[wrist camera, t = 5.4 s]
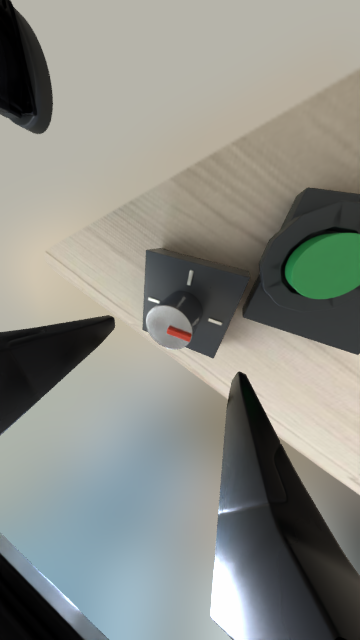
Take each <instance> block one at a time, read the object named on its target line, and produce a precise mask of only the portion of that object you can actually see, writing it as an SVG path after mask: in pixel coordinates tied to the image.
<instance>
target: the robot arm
mask: <svg viewBox="0 0 360 640" xmlns="http://www.w3.org/2000/svg"><path fill="white" fill-rule="evenodd" d="M0 115H2V116H4V117H6V118H16V119H21V118H22V116H37V108H36V103H35V99H34V95H33V90H32V86H31V81H30V77H29V72H28V68H27V64H26V59H25V55H24V50H23V46H22V41H21V37H20V33H19V28H18V24H17V19H16V15H15V11H14V7H13V4H12V2H11V0H0ZM114 328H115V320H114V318H113V317H112V316H109V315H107V316H102V317H95V318H90V319H84V320H78V321H72V322H66V323H60V324H54V325H48V326H42V327H37V328H30V329H23V330H15V331H7V332H0V435H1V434H3V433H4V432H5V431H6V430H7V429H8V428H9V427H10V426H11V425H12V424H13V423H15V422H16V421H17V420H18V419H19V418H20V417H21V416H22V415H23V414H25V413H26V411H28V410H29V409H30V408H31V407H32V406H33V405H34V404H35V403H37V401H39V400H40V399H41V398H42V397H43V396H44V395H45V394H46V393H47V392H49V390H51V389H52V388H53V387H54V386H55V385H56V384H57V383H58V382H60V381H61V379H63V378H64V377H65V376H66V375H67V374H68V373H69V372H71V370H72V369H74V368H75V367H76V366H77V365H78V364H79V363H80V362H81V361H82V360H83V359H85V358H86V357H87V356H88V355H89V354H90V353H91V352H92V351H94V350H95V349H96V348H97V347H98V346H99V345H100V344H101V343H102V342H103V341H104V340H105V339H106V337H107V336H108V335H109V334H110V333H111V332H112V331H113V330H114ZM211 619H212V620H213V621H214V622H216V624H217V625H219V627H220V628H221V629H222V630H223V631H224V632H225V633H226V634H227V635H228V636H229V637H230V638H231V639H232V640H360V575H359V574H358V573H357V571H356V570H355V569H354V567H353V566H352V564H351V563H350V561H349V560H348V558H347V557H346V555H345V554H344V552H343V551H342V549H341V548H340V546H339V544H338V543H337V541H336V539H335V538H334V536H333V534H332V532H331V531H330V529H329V527H328V526H327V524H326V522H325V521H324V519H323V517H322V515H321V514H320V512H319V511H318V509H317V507H316V505H315V504H314V502H313V500H312V498H311V497H310V495H309V494H308V492H307V490H306V488H305V487H304V485H303V483H302V481H301V479H300V478H299V476H298V474H297V473H296V471H295V469H294V467H293V465H292V463H291V461H290V459H289V458H288V456H287V454H286V452H285V450H284V448H283V446H282V444H280V440H279V438H278V436H277V434H276V432H275V431H274V429H273V427H272V425H271V423H270V421H269V419H268V417H267V415H266V413H265V411H264V409H263V407H262V405H261V403H260V401H259V399H258V397H257V395H256V393H255V391H254V389H253V388H252V386H251V384H250V382H249V380H248V378H247V376H246V374H244V373H242V372H238V373H237V374H236V375H235V377H234V378H233V380H232V383H231V388H230V393H229V398H228V404H227V410H226V424H225V436H224V448H223V462H222V474H221V488H220V500H219V514H218V525H217V538H216V551H215V563H214V575H213V588H212V601H211ZM0 640H109V639H108V638H107V637H106V636H105V635H104V634H103V633H102V632H101V631H100V630H98V628H97V627H95V625H93V624H92V623H91V622H90V621H89V620H88V619H87V618H86V617H85V616H84V615H83V614H82V613H81V612H80V611H79V610H78V609H77V608H76V607H75V606H74V605H73V604H72V603H71V602H70V601H69V600H68V599H67V598H66V597H65V596H64V595H63V594H62V593H61V592H60V591H59V590H58V589H57V588H56V587H55V586H54V585H53V584H52V583H51V582H50V581H49V580H48V579H47V578H46V577H45V576H44V575H43V574H41V572H40V571H39V570H38V569H36V567H35V566H34V565H33V564H32V563H30V562H29V561H28V559H26V558H25V557H24V556H23V555H22V554H21V553H20V552H19V551H18V550H17V549H16V548H15V547H14V546H13V545H12V544H11V543H10V542H9V541H8V540H7V539H6V538H5V537H4V536H3V535H2V534H1V533H0Z"/></svg>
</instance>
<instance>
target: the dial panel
mask: <svg viewBox="0 0 360 640" xmlns="http://www.w3.org/2000/svg"><path fill="white" fill-rule="evenodd" d="M249 279H250V276H249V271H246V270H242V269H238V268H234V267H230V266H226V265H223V264H219V263H215V262H211V261H207V260H203V259H199V258H196V257H192V256H188V255H184V254H180V253H176V252H173V251H169V250H165V249H161V248H159V249H150V250H146V265H145V287H144V309H143V330H144V331H147V332H148V329H147V326H146V317H147V314H148V313H149V311H150V310H151V309H152V308H153V307H155V306H156V305H157V304H159V303H160V302H161V301H163V300H164V299H165V298H166V297H168V296H169V295H170V294H172V293H173V292H176V291H186V292H189V293H191V294H193V295H194V296H196V297H197V298H198V300H199V301H200V303H201V305H202V308H203V316H202V319H201V321H200V323H199V325H198V327H197V329H196V331H195V333H194V335H193V337H192V339H191V341H190V343H189V344H188V345H187V346H185V347H186V348H189V349H191V350H194V351H196V352H199V353H201V354H204V355H206V356H209V357H211V358H214V357H215V354H216V352H217V350H218V348H219V346H220V343H221V341H222V339H223V337H224V334H225V332H226V330H227V328H228V326H229V323H230V321H231V319H232V317H233V315H234V312H235V310H236V308H237V306H238V304H239V301H240V299H241V297H242V295H243V292H244V290H245V288H246V286H247V284H248V281H249Z"/></svg>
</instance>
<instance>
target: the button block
mask: <svg viewBox="0 0 360 640" xmlns="http://www.w3.org/2000/svg"><path fill="white" fill-rule="evenodd" d="M333 233H357V234H360V194H354V193H347V192H339V191H331V190H324V189H316V188H306V189H305V190H304V191H303V192H301V193H300V194H299V195H297V197H296V198H295V201H294V203H293V205H292V207H291V209H290V211H289V213H288V215H287V217H286V219H285V221H284V223H283V225H282V228H281V230H280V231H279V232H278V233H277V234H276V235H275V236H273V237H272V238H271V239H270V240H269V242H268V245H267V247H266V249H265V251H264V253H263V256H262V258H261V260H260V262H259V269H260V273H259V275H258V278H257V280H256V282H255V284H254V286H253V288H252V290H251V292H250V294H249V296H248V298H247V300H246V303H245V305H244V307H243V317H244V318H247V319H250V320H253V321H256V322H259V323H262V324H265V325H268V326H271V327H274V328H277V329H280V330H283V331H286V332H290V333H293V334H296V335H299V336H302V337H305V338H308V339H311V340H314V341H317V342H320V343H323V344H326V345H329V346H332V347H335V348H338V349H341V350H344V351H347V352H350V353H354V354H357V355H358V354H360V285H359V286H358V287H356V288H355V289H353V290H351V291H349V292H347V293H345V294H343V295H340V296H337V297H333V298H328V299H313V298H308V297H305V296H303V295H301V294H300V293H298V292H297V291H296V290H295V289H294V288H293V287H292V286H291V285H290V284H289V283H288V281H287V280H286V277H285V266H286V263H287V260H288V258H289V257H290V255H291V254H292V253H293V251H294V250H295V249H296V248H297V247H299V246H300V245H301V244H303V243H304V242H306V241H307V240H309V239H311V238H313V237H316V236H319V235H323V234H333Z"/></svg>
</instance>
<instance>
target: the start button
mask: <svg viewBox="0 0 360 640" xmlns="http://www.w3.org/2000/svg"><path fill="white" fill-rule="evenodd" d="M285 277H286V280H287V281H288V283H289V284H290V285H291V286H292V287H293V288H294V289H295V290H296V291H297V292H298V293H300V294H301V295H303V296H305V297H308V298H313V299H328V298H333V297H337V296H340V295H343V294H345V293H347V292H349V291H351V290H353V289H355V288H356V287H358V286H359V285H360V234H357V233H333V234H323V235H319V236H316V237H313V238H311V239H309V240H307V241H306V242H304V243H303V244H301V245H300V246H299V247H297V248H296V249H295V250H294V251H293V253H292V254H291V255H290V257H289V258H288V260H287V263H286V266H285Z"/></svg>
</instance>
